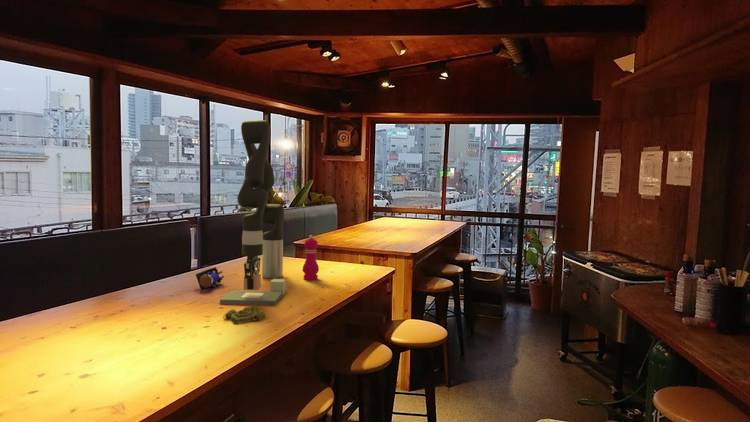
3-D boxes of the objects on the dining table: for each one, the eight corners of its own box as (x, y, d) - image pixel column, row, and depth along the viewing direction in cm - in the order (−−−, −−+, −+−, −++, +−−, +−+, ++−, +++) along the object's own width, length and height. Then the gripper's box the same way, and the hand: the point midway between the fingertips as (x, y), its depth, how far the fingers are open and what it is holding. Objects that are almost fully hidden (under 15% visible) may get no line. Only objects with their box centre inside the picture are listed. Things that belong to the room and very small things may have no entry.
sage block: (273, 291, 199) (273, 278, 199) (285, 291, 199) (285, 279, 199) (270, 294, 194) (270, 281, 194) (283, 294, 194) (283, 281, 194)
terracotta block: (247, 286, 187) (247, 273, 186) (260, 287, 187) (260, 274, 186) (243, 289, 182) (243, 276, 181) (257, 290, 182) (257, 277, 181)
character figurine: (226, 284, 210) (208, 293, 195) (210, 282, 211) (191, 290, 196) (227, 266, 209) (209, 273, 194) (211, 264, 210) (192, 271, 195)
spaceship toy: (274, 311, 172) (274, 301, 172) (255, 327, 154) (255, 315, 154) (240, 308, 174) (240, 298, 173) (217, 324, 156) (217, 313, 156)
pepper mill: (300, 277, 224) (301, 234, 222) (315, 276, 227) (316, 233, 225) (305, 281, 217) (305, 236, 216) (320, 280, 220) (321, 235, 219)
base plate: (231, 294, 192) (231, 290, 192) (282, 295, 191) (283, 291, 191) (219, 303, 178) (219, 299, 178) (274, 305, 178) (274, 300, 177)
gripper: (257, 245, 176) (257, 292, 177) (267, 240, 190) (266, 283, 191) (236, 244, 176) (236, 291, 177) (247, 239, 190) (247, 283, 191)
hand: (252, 287), depth 184 cm, fingers closed on terracotta block, 5 cm apart
